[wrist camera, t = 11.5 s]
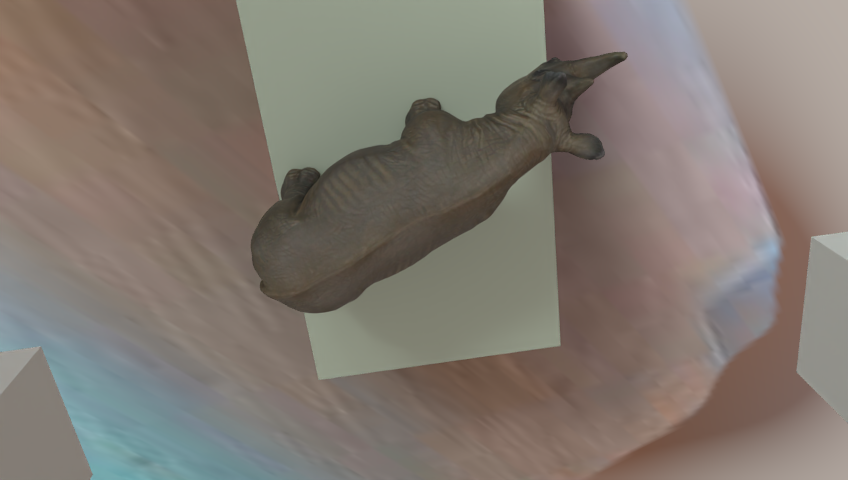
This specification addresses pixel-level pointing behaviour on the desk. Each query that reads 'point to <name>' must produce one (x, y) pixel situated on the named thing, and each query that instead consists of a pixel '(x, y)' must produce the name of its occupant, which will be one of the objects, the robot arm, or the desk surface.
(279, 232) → the rhino figurine
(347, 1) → the block
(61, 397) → the robot arm
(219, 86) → the desk surface
